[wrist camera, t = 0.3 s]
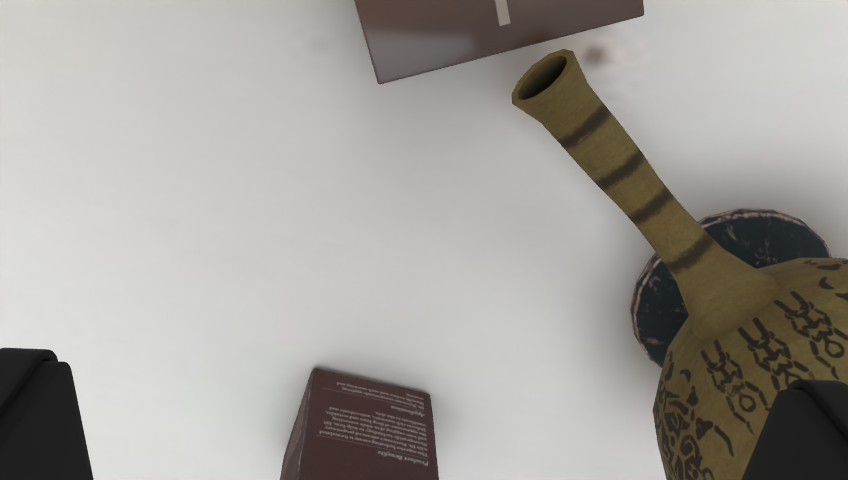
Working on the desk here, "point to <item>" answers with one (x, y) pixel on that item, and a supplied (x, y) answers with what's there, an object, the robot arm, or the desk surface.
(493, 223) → the desk surface
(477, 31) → the tap block
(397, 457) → the box
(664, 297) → the teapot
